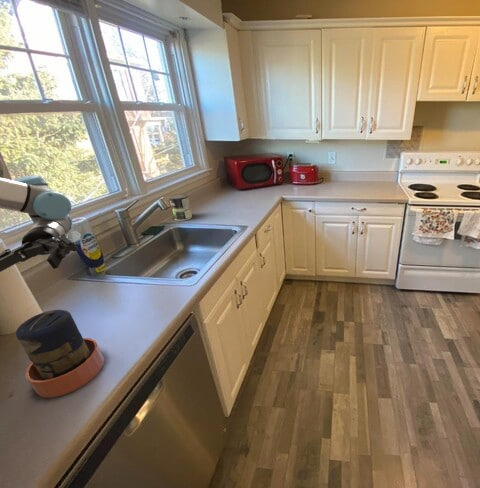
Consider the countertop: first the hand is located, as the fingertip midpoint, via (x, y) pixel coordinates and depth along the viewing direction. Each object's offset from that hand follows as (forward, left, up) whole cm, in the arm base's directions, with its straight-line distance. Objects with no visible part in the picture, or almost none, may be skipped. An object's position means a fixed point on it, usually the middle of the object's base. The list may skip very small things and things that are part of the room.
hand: (16, 274), depth 64 cm
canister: (+9, 0, -26) cm, 28 cm away
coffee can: (-83, +72, -27) cm, 113 cm away
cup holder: (+9, 0, -27) cm, 28 cm away
